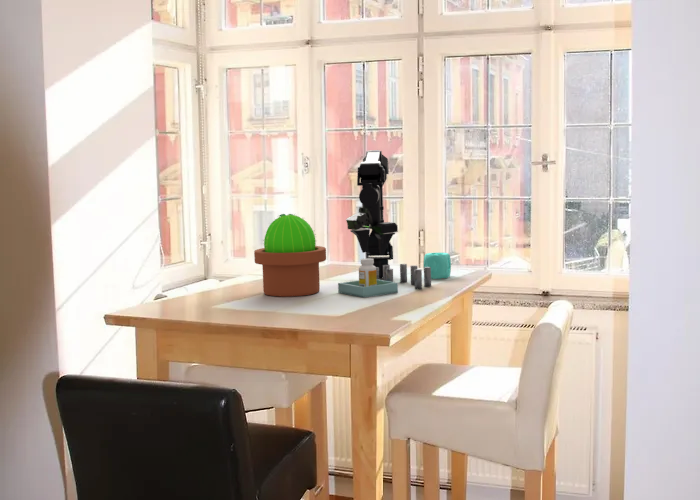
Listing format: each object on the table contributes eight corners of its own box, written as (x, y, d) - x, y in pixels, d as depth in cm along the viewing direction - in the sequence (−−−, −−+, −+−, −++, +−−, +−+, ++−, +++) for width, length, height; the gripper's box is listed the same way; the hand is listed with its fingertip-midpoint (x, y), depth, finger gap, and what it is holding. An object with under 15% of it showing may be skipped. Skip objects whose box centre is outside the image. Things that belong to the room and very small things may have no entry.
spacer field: (367, 285, 286) (366, 267, 285) (400, 281, 294) (400, 263, 293) (402, 291, 271) (402, 272, 271) (436, 286, 279) (436, 267, 279)
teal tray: (338, 292, 273) (338, 283, 273) (372, 288, 281) (371, 278, 281) (363, 297, 263) (363, 287, 263) (397, 292, 270) (397, 282, 270)
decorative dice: (451, 275, 303) (450, 252, 302) (447, 279, 296) (446, 255, 295) (428, 275, 306) (427, 252, 305) (423, 278, 298) (423, 255, 297)
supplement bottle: (377, 289, 274) (376, 257, 273) (376, 291, 269) (375, 259, 268) (360, 289, 275) (359, 258, 274) (358, 292, 270) (357, 260, 268)
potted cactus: (317, 298, 264) (314, 214, 261) (247, 298, 268) (243, 215, 265) (333, 287, 285) (331, 209, 282) (268, 287, 289) (265, 210, 287)
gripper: (332, 204, 276) (334, 253, 278) (368, 207, 261) (369, 259, 263) (361, 201, 282) (363, 250, 285) (398, 204, 267) (399, 255, 269)
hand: (372, 253), depth 275 cm, fingers open, 9 cm apart
